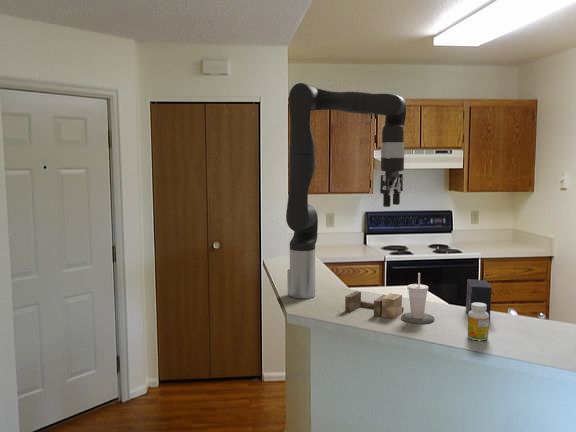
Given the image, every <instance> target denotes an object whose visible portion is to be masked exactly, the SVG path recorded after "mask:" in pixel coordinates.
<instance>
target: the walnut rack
mask: <svg viewBox="0 0 576 432" xmlns="http://www.w3.org/2000/svg"><path fill="white" fill-rule="evenodd" d="M344 298H345V300H344V304H345V305H344V307H345V309H344V311H345V312H348V313H352V312H354V311H355V310H357V309H358V308H360V307H363V308H371V309H373V317H377V318H379V317H382V318H386V319H387V318H389V319H396V318H397V317H398V316H400V315H402V313H404V310H405V308H404V306H403V295H402V294H398V293H388V294H387V295H386V294H382V295H381V296H379V297H377V298H376V299H374V300H373V302H371V301H363V300H362V291H358V290H354V291H353V292H351V293H350V294H346V295H345V296H344Z"/></svg>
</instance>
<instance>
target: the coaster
mask: <svg viewBox="0 0 576 432" xmlns="http://www.w3.org/2000/svg"><path fill="white" fill-rule="evenodd" d="M401 320H402V321H404V322H406V323H408V324H409V323H410V324H414V325H415V324H417V325H427V324H431V323H433V322H435V316H433V315H432V314H430V313H429V314H428V313H425V312H424V317H423V318H420V319H418V318H413V317H411V312H405V313H403V314H401Z"/></svg>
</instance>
